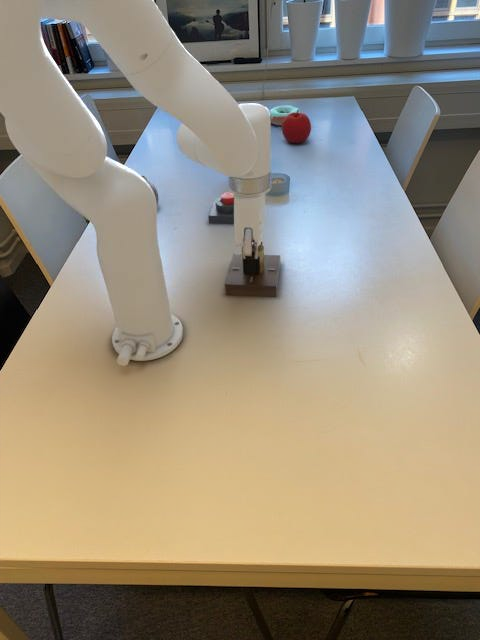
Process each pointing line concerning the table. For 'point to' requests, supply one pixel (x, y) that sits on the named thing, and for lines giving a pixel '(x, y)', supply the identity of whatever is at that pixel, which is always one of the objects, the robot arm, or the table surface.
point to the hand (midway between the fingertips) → (253, 265)
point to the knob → (260, 254)
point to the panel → (253, 278)
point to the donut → (281, 114)
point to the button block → (221, 213)
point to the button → (227, 198)
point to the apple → (296, 127)
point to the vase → (153, 189)
